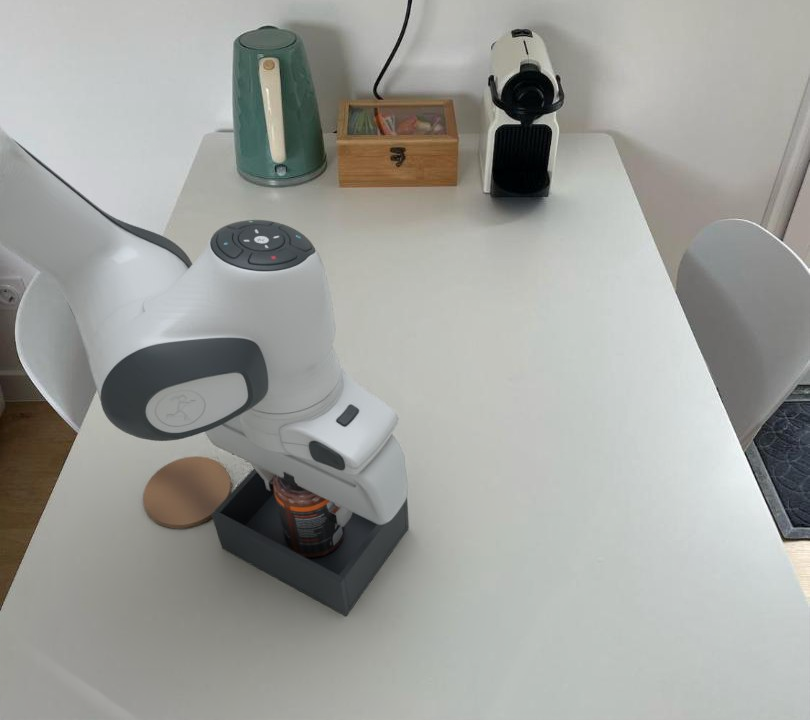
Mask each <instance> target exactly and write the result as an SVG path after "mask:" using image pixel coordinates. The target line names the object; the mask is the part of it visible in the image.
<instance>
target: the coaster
mask: <svg viewBox="0 0 810 720" xmlns="http://www.w3.org/2000/svg"><path fill="white" fill-rule="evenodd" d="M232 488H233V487H232V479H231V476H230V473H229V471H228V470H227V468H226V467H225V466H224V465H223V464H222V463H221V462H219V461H217V460H215V459H213V458H210V457H205V456H186V457H182V458H179V459H176V460H173V461H171V462H169V463H168V464H165V465H164V466H162V467H161V468H159V469H158V470H157V471H156V472H155V473H154V474H153V475H152V476H151V477H150V479H149V480H148V482H147V483H146V486H145V488H144V491H143V495H142V496H143V497H142V501H143V506H144V509H145V511H146V513H147V515H148V516H149V517H150V519H151V520H152V521H153V522H156V523H157V524H158V525H160V526H163V527H166V528H171V529H187V528H193V527H196V526H199V525H201V524H204V523H206V522H207V521H209V520H211V519H212V516H211V514H212V513H213V512H214V511H215V510H216V509H217V508H218V507H219V506H220V504H221V503H222V502H223V501H224V500H225V499H226V498H227V497H228V496H229V495H230V494H231V493H232Z"/></svg>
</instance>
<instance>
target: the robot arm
mask: <svg viewBox="0 0 810 720" xmlns="http://www.w3.org/2000/svg"><path fill="white" fill-rule="evenodd" d="M0 247H2V248H4V249H5V250H7V251H8V252H10V253H11V254H13V255H14V256H16V257H17V258H19V259H20V260H21V261H23V262H25V263H26V264H28V265H30V266H31V267H33V268H34V269H35V270H37V271H39V272H40V273H42V274H43V275H44V276H46V277H47V278H49V279H50V280H51V281H52V282H53V283H54V284H55V285H56V286H57V287H58V289H59V290H60V292H61V293H62V294H63V296H64V298H65V300H66V302H67V304H68V307H69V309H70V311H71V313H72V315H73V318H74V320H75V321H76V324H77V327H78V331H79V334H80V337H81V340H82V344H83V347H84V350H85V353H86V357H87V360H88V365H89V369H90V372H91V375H92V376H91V377H92V380H93V383H94V386H95V388H96V391H97V395H98V397H99V400H100V405H101V408H102V411H103V413H104V416H106V417H105V418H107V420H108V421H109V422H110V423H111V424H112V425H113V426H114V427H115V428H117V429H118V430H119V431H121V432H124V433H125V434H127V435H130V436H132V437H136V438H138V439H142V440H147V441H155V442H170V441H178V440H182V439H186V438H190V437H193V436H197V435H199V434H202V433H204V434H205V436H206V437H207V439H208V440H209V441H210V442H211V443H212V445H214V446H215V447H217V448H218V449H220V450H223V451H225V452H227V453H230V454H232V455H233V456H235V457H238V458H240V459H242V460H244V461H246V462H248V463H250V465H251V466H252V468H253V469H255V470H256V471H257V472H258V474H259V475H260V476H261V477H262V478H263V479H264V481H265V485H266V489H267V490H269V491H271V492H273V493H274V489H273V479H274V475H277V476H279V477H281V478H283V477H284V473H283V472H286V473H288V474H291V475H292V476H294V480H295V483H297V484H298V485H297V486H300V487H302V488H304V489H306V490H308V491H310V492H312V493H314V494H316V495H318V496H320V497H322V498H324V499H326V500H329V501H331V502H333V503H334V505H332V506H331V507H330V508H329V509H328V516H329V520H330V521H332V522H334V523H336V524H338V525H340V526H342V527H343V526H345V524H346V523H347V522H348V520H349V519H350V518H351V516H352V512H353V513H355V514H357V515H360V516H362V517H364V518H366V519H368V520H370V521H372V522H374V523H376V524H378V525H383V524H385V523H387V522H389V521H390V520H392V518H393V517H394V516H395V515H396V514H397V512H398V511H399V510H400V508H401V507H402V505H403V504H404V502H405V500H406V498H407V499H408V493H409V483H408V471H407V465H406V459H405V454H404V450H403V448H402V446H401V443H400V442H399V440H398V439H397V438H396V436H394V435H393V433H394V431H395V430H396V428H397V426H398V424H399V417H398V413H397V411H396V410H395V409H394V408H393V407H392V406H391V405H389V404H387V403H386V402H385V401H383V400H382V399H380V398H379V397H377V396H376V395H374V394H373V393H372V392H370V391H369V390H367V388H365V387H364V386H362V384H360V383H359V382H357V380H356V379H355V378H354V377H352V375H350V373H349V372H348V371H346V370H345V369H344V368H342V367H341V363H340V358H339V356H338V353H337V351H336V349H335V348H334V342H335V339H336V333H337V331H336V330H337V328H336V327H337V326H336V318H335V312H334V311H335V310H334V304H333V299H332V298H333V297H332V293H331V287H330V284H329V279H328V275H327V271H326V268H325V265H324V262H323V259H322V257H321V255H320V253H319V251H318V249H317V247H316V246H315V245H314V244H313V242H312V241H311V240H310V239H308V237H306V236H305V235H304V234H303V233H301V231H298V230H297V229H295V228H293V227H292V226H289V225H287V224H284V223H280V222H276V221H273V220H265V219H248V220H240V221H236V222H232V223H228V224H226V225H224V226H222V227H220V228H219V229H217V230H216V231H215V232H214V233H213V234H212V235H211V237H210V238H209V240H208V242H207V244H206V246H205V248H204V250H203V251H202V253H201V254H200V255H199V257H198V258H197V259H195V261H194V262H192V261H191V259H190V257H189V255H187V253H186V252H185V251H184V249H183V248H181V247H180V246H179V245H178V244H176V243H175V242H174V241H172V240H171V239H169V238H167V237H165V236H163V235H161V234H158V233H156V232H154V231H151V230H148V229H145V228H142V227H139V226H136V225H133V224H130V223H128V222H126V221H122V220H121V219H119V218H116V217H115V216H112V215H110V214H109V213H107V212H106V211H104V210H103V209H102V208H100V207H99V206H98V205H96V204H95V203H94V202H92V201H91V200H90V199H89V198H87V197H86V196H85V195H84V194H83V193H81V192H80V191H78V190H77V189H76V188H75V187H73V186H72V184H70V183H69V182H67V181H66V180H65V179H63V178H62V177H61V176H60V175H59V174H58V173H56V172H55V171H54V170H52V169H51V168H50V167H49V166H48V165H46V164H45V163H44V162H43V161H41V160H40V159H39V158H38V157H36V156H35V155H34V154H33V153H32V152H30V151H29V150H28V149H27V148H25V147H24V146H23V145H22V144H20V143H19V142H18V141H16V140H15V139H14V138H13V137H12V136H10V135H9V133H7V132H6V131H5V129H4V128H2V126H0ZM283 479H284V478H283Z"/></svg>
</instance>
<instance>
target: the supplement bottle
mask: <svg viewBox="0 0 810 720" xmlns="http://www.w3.org/2000/svg"><path fill="white" fill-rule="evenodd" d="M283 473H284V477H283V478H284V479H283V478H281V477H279V476H277V475H274V479H273V489H274V494H275V499H276V503H277V507H278V512H279V516H280V520H281V524H282V529H283V533H284V537H285V540H286V543H287V545H288V546H289V548H290V549H291V550H292V551H294V552H296V553H298V554H300V555H302V556H303V557H309V558H314V557H321V556H324V555H326V554H329V553H330V552H332V551H333V550H334V549H336V548H337V547H338V545H339V544H340V543H341V541H342V539H343V537H344V530H345V529H344V526H343V527H342V526H340V525H338V524H336V523H334V522H332V521H330V520H329V516H328V509H329V508H330V507H331V506H332V505H334V503H333V502H331V501H329V500H326V499H324V498H322V497H320V496H318V495H316V494H314V493H312V492H310V491H308V490H306V489H304V488H302V487H300V486H297V485H298V484H297V483H295V480H294V476H292V475H291V474H288V473H286V472H283Z"/></svg>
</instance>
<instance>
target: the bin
mask: <svg viewBox="0 0 810 720" xmlns="http://www.w3.org/2000/svg"><path fill="white" fill-rule="evenodd" d="M408 506H409V505H408V497H407V498H406V500H405V502H404V504H403V505H402V507H401V508H400V510H399V511H398V512H397V514H396V515H395V516H394V517H393V518H392V520H390V521H389V522H387V523H385V524H383V525H378V524H376V523H374V522H372V521H370V520H368V519H366V518H364V517H362V516H360V515H357V514H355V513H353V512H352V516H351V518H350V519H349V520H348V522H347V523H346V524H345V526H344V529H345V530H344V537H343V539H342V541H341V543H340V544H339V545H338V547H337V548H336V549H334V550H333V551H332V552H330V553H329V554H326V555H324V556H321V557H314V558H309V557H303V556H302V555H300V554H298V553H296V552H294V551H292V550H291V549H290V548H289V546H288V545H287V543H286V540H285V537H284V533H283V529H282V524H281V520H280V516H279V512H278V507H277V503H276V499H275V494H274V493H273V492H271V491H269V490H267V489H266V485H265V481H264V479H263V478H262V477H261V476H260V475H259V474H258V472H257V471H256V470H255V469H254V468H253V469H252V470H251V471H250V472H249V473H248V474H247V475H246V476H245V477H244V479H243V480H242V481H241V482H240V483H239V484H238V485H237V486H236V487H235V488H234V489H233V490H232V491H231V494H230V495H229V496H228V497H227V498H226V499H225V500H224V501H223V502H222V503H221V504H220V506H219V507H218V508H217V509H216V510H215V511H214V512H213V513H212V514H211V516H212V518H211V519H212V522H213V525H214V528H215V531H216V534H217V537H218V540H219V543H220V547H221V549H222V550H224V551H225V552H227V553H229V554H231V555H233V556H235V557H236V558H238V559H240V560H242V561H244V562H245V563H247V564H249V565H251V566H252V567H254V568H255V569H258V570H260V571H262V572H263V573H265V574H268V575H269V576H271V577H273V578H274V579H276V580H278V581H280V582H281V583H282V582H283V583H284V584H286V585H287V586H289V587H291V588H293V589H295V590H297V591H298V592H300V593H302V594H304V595H306V596H308V597H309V598H311V599H313V600H315V601H317V602H318V603H320V604H322V605H324V606H326V607H328V608H329V609H331V610H333V611H335V612H337V613H339V614H340V615H343V616H344V617H347V616H348V615H349V613H350V612H351V610H352V609H353V608H354V606H355V604H356V603H357V602H358V600H359V599H360V597H362V595H363V593H364V592H365V590H366V589H367V588H368V586H369V585H370V583H371V582H372V581H373V580H374V578H375V577H376V575H377V574H378V572H379V571H380V570H381V568H382V566H383V565H384V564H385V563H386V561H387V559H388V558H389V557H390V556H391V554H392V553H393V551H394V550H395V548H396V547H397V545H398V544H399V542H400V541H401V540H402V538H403V537H404V535H405V534H406V533H407V531H408V530H409V528H410V527H409V525H410V524H409V507H408Z"/></svg>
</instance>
